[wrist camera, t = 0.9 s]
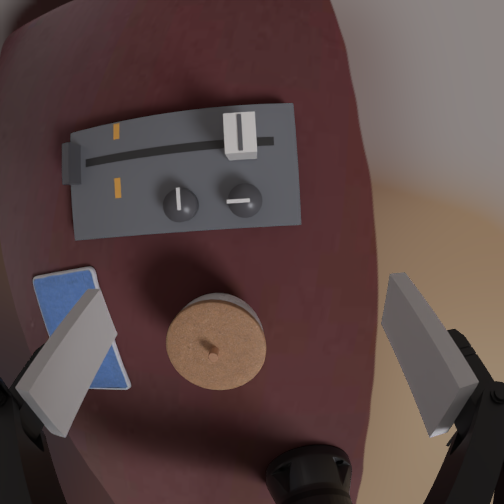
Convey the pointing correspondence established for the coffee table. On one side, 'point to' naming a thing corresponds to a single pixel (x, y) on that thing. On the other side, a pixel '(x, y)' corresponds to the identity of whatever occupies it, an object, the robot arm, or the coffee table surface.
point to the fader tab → (240, 135)
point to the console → (181, 174)
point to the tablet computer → (59, 305)
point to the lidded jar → (216, 342)
